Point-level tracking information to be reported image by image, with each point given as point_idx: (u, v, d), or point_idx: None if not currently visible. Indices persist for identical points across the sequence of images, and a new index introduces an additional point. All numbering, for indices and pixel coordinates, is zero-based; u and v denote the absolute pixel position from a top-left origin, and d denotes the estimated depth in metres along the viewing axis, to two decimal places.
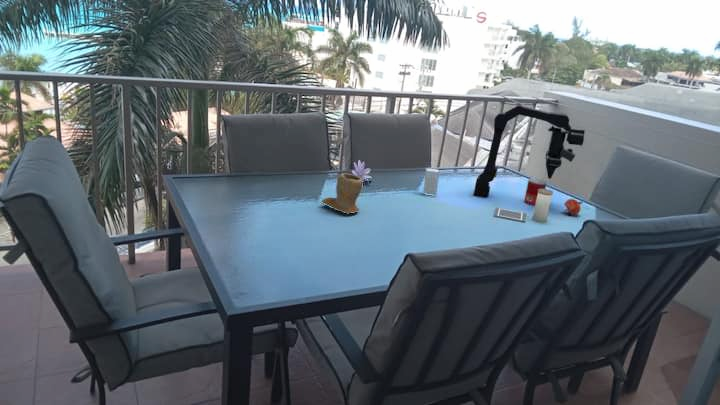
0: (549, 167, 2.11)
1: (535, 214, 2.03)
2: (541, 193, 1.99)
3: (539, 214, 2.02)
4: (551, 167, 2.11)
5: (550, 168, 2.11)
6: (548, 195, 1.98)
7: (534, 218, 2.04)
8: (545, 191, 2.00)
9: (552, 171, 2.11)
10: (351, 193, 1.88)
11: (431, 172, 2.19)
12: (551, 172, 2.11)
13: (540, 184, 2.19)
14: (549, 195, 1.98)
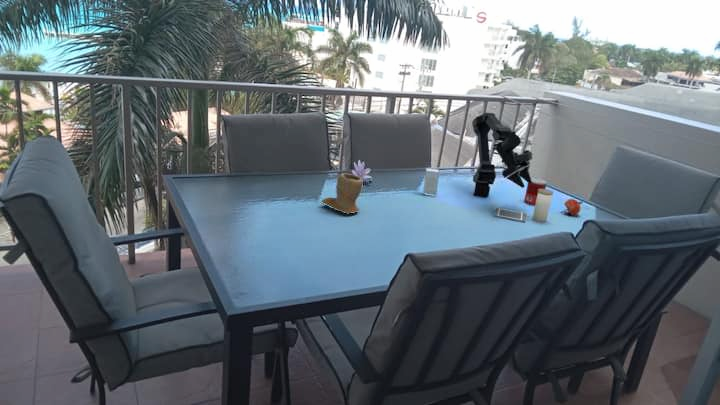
0: (513, 178, 2.02)
1: (535, 214, 2.03)
2: (541, 193, 1.99)
3: (539, 214, 2.02)
4: (515, 177, 2.01)
5: (515, 178, 2.01)
6: (548, 195, 1.98)
7: (534, 218, 2.04)
8: (545, 191, 2.00)
9: (518, 179, 2.01)
10: (351, 193, 1.88)
11: (431, 172, 2.19)
12: (519, 181, 2.01)
13: (540, 184, 2.19)
14: (549, 195, 1.98)
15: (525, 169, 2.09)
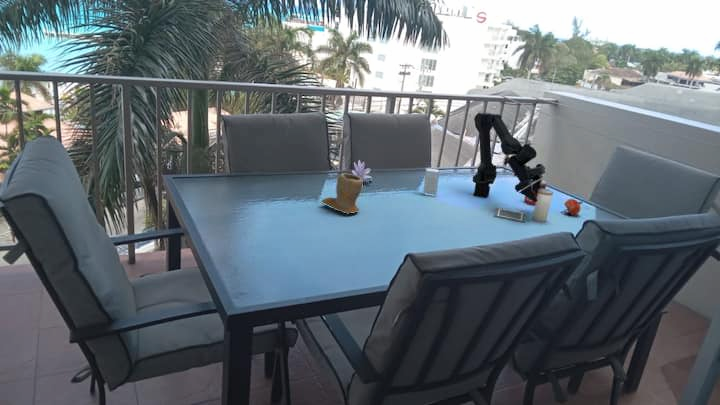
0: (526, 192, 2.00)
1: (535, 214, 2.03)
2: (541, 193, 1.99)
3: (539, 214, 2.02)
4: (527, 191, 1.99)
5: (527, 193, 1.99)
6: (548, 195, 1.98)
7: (534, 218, 2.04)
8: (545, 191, 2.00)
9: (531, 194, 1.98)
10: (351, 193, 1.88)
11: (431, 172, 2.19)
12: (531, 195, 1.99)
13: None
14: (549, 195, 1.98)
15: (538, 183, 2.07)
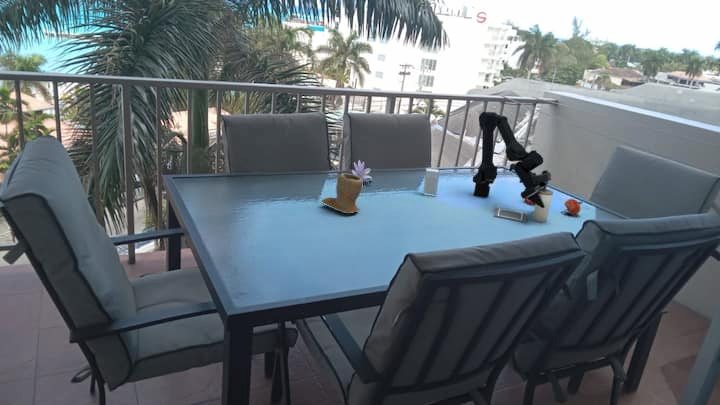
0: (533, 198, 2.00)
1: (535, 214, 2.03)
2: (541, 193, 1.99)
3: (539, 214, 2.02)
4: (535, 197, 2.00)
5: (535, 199, 2.00)
6: (548, 195, 1.98)
7: (534, 218, 2.04)
8: (545, 191, 2.00)
9: (538, 200, 1.99)
10: (351, 193, 1.88)
11: (431, 172, 2.19)
12: (539, 201, 1.99)
13: None
14: (549, 195, 1.98)
15: None
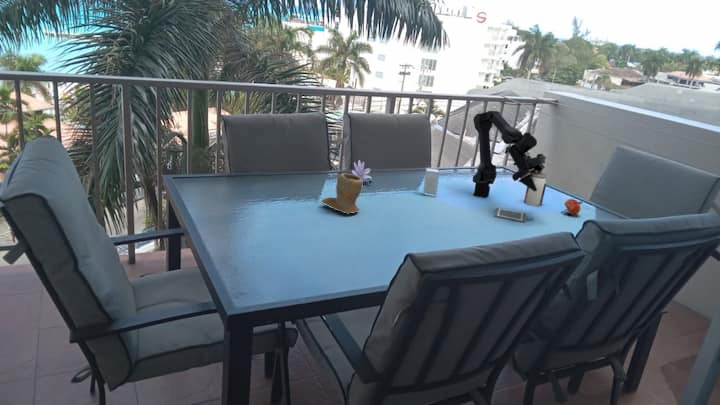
0: (525, 181, 1.99)
1: (528, 197, 2.01)
2: (534, 176, 1.97)
3: (532, 198, 2.00)
4: (527, 180, 1.98)
5: (527, 181, 1.98)
6: (541, 178, 1.96)
7: (527, 201, 2.02)
8: (538, 174, 1.98)
9: (530, 183, 1.97)
10: (351, 193, 1.88)
11: (431, 172, 2.19)
12: (531, 184, 1.98)
13: None
14: (542, 178, 1.96)
15: None
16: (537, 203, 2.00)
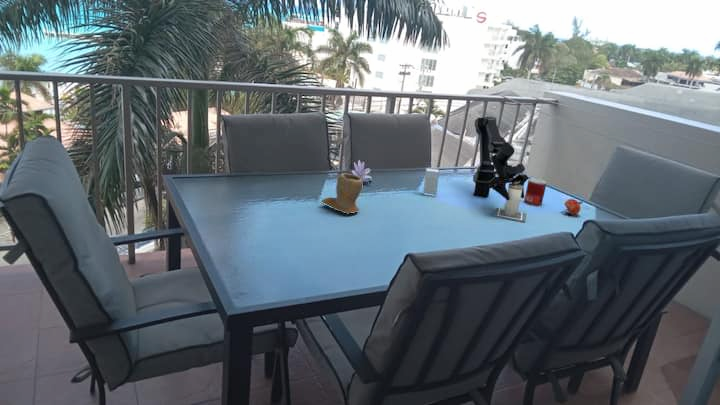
0: (499, 190, 2.03)
1: (504, 208, 2.06)
2: (509, 187, 2.02)
3: (507, 208, 2.04)
4: (501, 189, 2.02)
5: (501, 190, 2.02)
6: (515, 189, 2.00)
7: (504, 211, 2.06)
8: (514, 185, 2.02)
9: (504, 191, 2.01)
10: (351, 193, 1.88)
11: (431, 172, 2.19)
12: (504, 193, 2.01)
13: (540, 184, 2.19)
14: (516, 189, 2.00)
15: (519, 183, 2.06)
16: (513, 214, 2.04)
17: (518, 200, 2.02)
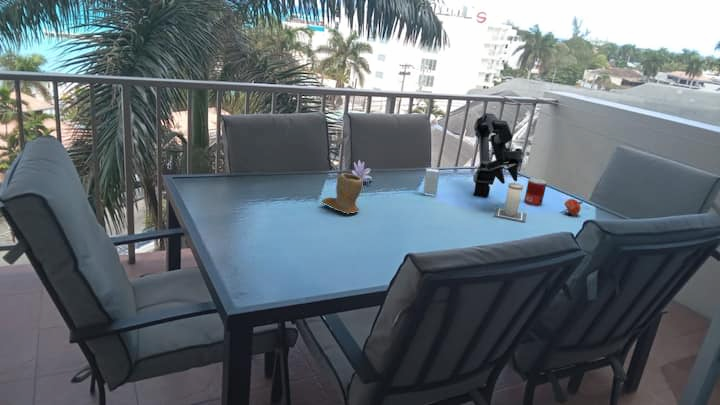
0: (496, 172, 2.06)
1: (504, 208, 2.06)
2: (509, 187, 2.02)
3: (507, 208, 2.04)
4: (497, 172, 2.05)
5: (497, 173, 2.06)
6: (515, 189, 2.00)
7: (504, 212, 2.06)
8: (514, 185, 2.01)
9: (500, 175, 2.05)
10: (351, 193, 1.88)
11: (431, 172, 2.19)
12: (500, 176, 2.05)
13: (540, 184, 2.19)
14: (516, 189, 2.00)
15: (514, 166, 2.11)
16: (513, 214, 2.04)
17: (518, 200, 2.02)
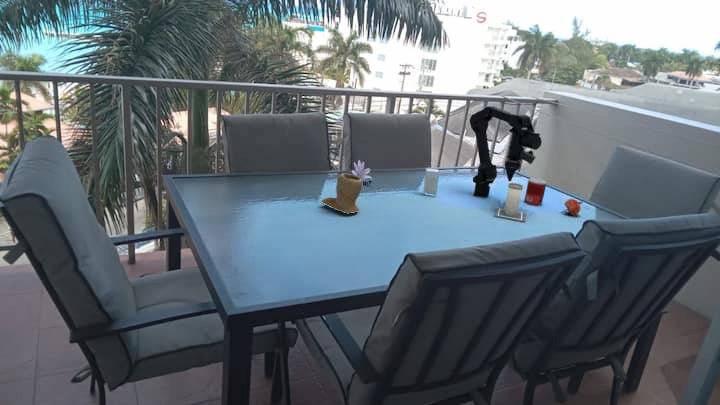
0: (509, 169, 2.07)
1: (504, 208, 2.06)
2: (509, 187, 2.02)
3: (507, 208, 2.04)
4: (511, 169, 2.07)
5: (509, 171, 2.07)
6: (515, 189, 2.00)
7: (504, 211, 2.06)
8: (514, 185, 2.02)
9: (512, 174, 2.07)
10: (351, 193, 1.88)
11: (431, 172, 2.19)
12: (511, 175, 2.08)
13: (540, 184, 2.19)
14: (516, 189, 2.00)
15: None
16: (513, 214, 2.04)
17: (518, 200, 2.02)
